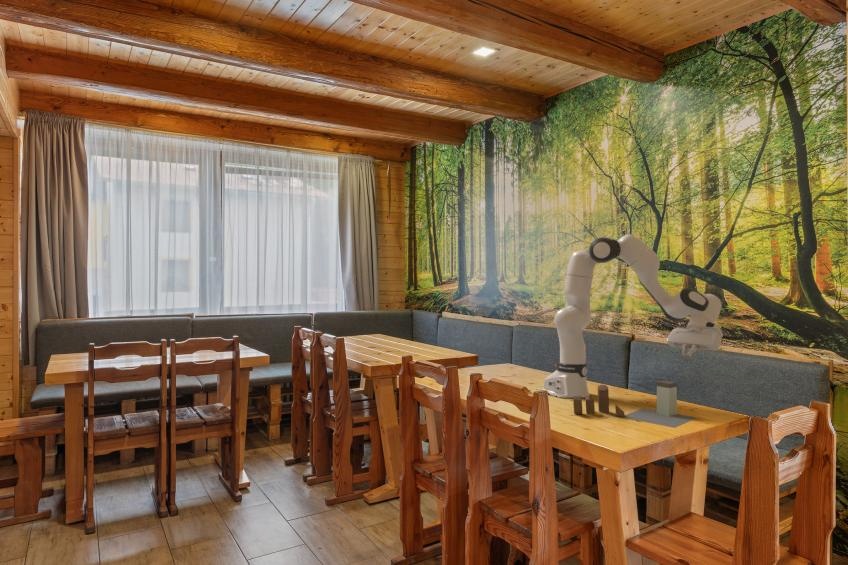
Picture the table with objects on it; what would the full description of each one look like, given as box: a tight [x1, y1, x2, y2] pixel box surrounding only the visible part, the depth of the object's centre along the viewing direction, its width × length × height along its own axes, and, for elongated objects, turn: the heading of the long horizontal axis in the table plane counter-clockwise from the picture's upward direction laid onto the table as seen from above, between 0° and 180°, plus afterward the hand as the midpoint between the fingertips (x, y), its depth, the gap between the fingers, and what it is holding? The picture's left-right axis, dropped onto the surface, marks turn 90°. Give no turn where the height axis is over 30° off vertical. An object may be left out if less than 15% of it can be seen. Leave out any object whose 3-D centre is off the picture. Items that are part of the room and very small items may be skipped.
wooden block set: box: [572, 384, 626, 418], centre depth 208 cm, size 18×9×10 cm, turn 76°
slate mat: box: [619, 407, 698, 428], centre depth 203 cm, size 20×20×1 cm
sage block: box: [656, 380, 678, 416], centre depth 208 cm, size 5×5×12 cm
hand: (686, 355), depth 217 cm, fingers closed
